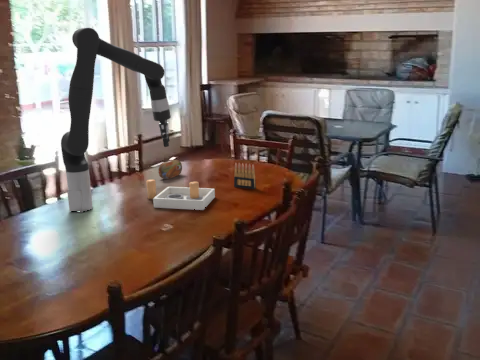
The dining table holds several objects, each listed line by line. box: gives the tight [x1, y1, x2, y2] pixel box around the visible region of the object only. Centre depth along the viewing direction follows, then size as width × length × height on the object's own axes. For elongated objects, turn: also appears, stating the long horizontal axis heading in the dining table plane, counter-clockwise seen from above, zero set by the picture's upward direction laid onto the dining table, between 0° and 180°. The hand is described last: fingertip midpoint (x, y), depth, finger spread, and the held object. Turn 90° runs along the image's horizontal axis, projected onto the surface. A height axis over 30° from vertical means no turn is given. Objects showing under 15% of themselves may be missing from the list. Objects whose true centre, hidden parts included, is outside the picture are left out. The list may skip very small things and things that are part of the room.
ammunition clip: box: [233, 162, 257, 190], centre depth 255 cm, size 11×2×12 cm, turn 64°
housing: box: [152, 181, 216, 211], centre depth 236 cm, size 18×22×9 cm
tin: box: [158, 159, 183, 180], centre depth 277 cm, size 15×3×8 cm, turn 143°
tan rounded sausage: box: [145, 179, 157, 200], centre depth 244 cm, size 4×4×8 cm
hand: (166, 144), depth 245 cm, fingers open, 8 cm apart
